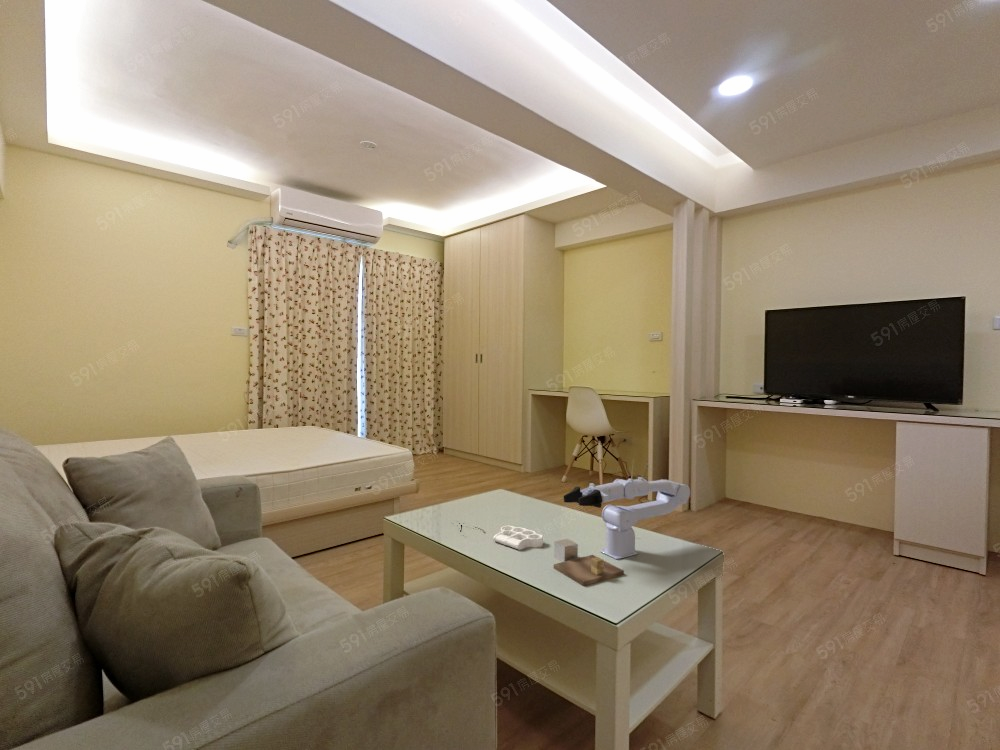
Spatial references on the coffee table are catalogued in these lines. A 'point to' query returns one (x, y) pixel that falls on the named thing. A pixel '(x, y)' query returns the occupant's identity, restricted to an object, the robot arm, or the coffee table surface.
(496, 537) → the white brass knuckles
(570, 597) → the coffee table surface
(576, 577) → the walnut board
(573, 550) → the brushed aluminum cube
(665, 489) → the robot arm
